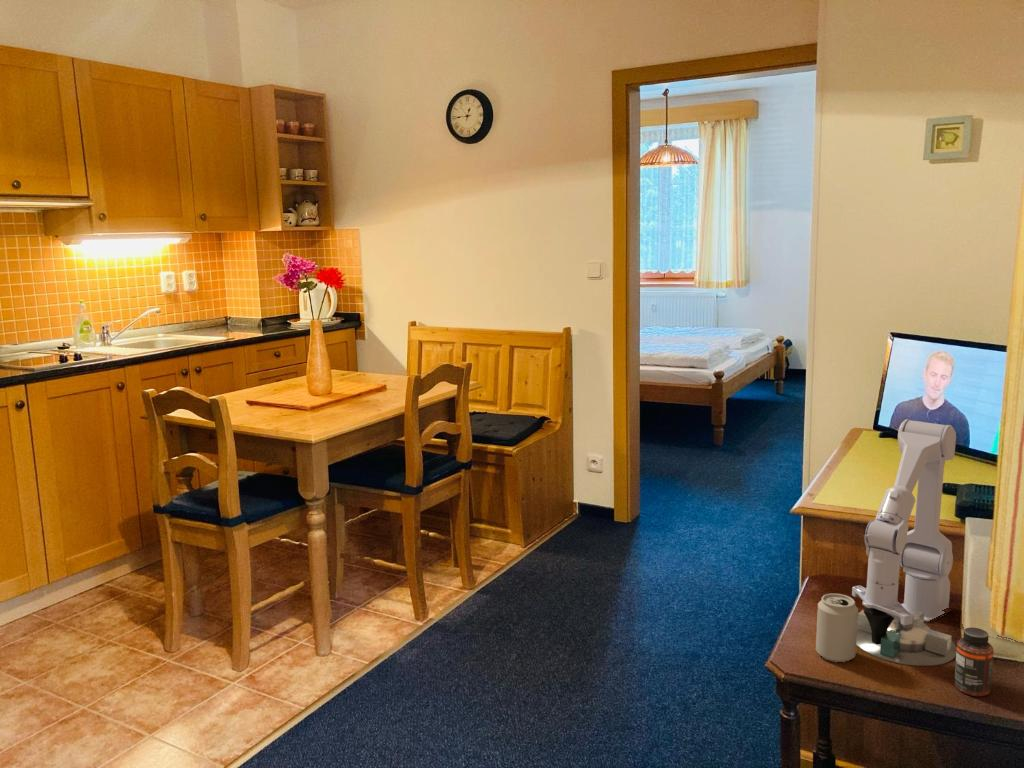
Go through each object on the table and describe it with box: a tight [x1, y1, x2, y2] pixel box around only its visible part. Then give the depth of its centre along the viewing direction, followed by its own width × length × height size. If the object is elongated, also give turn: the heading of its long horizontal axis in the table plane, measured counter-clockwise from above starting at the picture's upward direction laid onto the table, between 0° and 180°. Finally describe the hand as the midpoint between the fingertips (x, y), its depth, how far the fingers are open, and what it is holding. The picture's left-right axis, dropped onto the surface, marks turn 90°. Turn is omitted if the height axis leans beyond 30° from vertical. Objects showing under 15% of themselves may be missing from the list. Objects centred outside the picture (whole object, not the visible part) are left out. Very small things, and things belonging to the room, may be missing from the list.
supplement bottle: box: [954, 626, 995, 697], centre depth 155 cm, size 6×6×11 cm
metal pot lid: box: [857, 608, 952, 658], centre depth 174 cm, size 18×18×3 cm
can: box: [815, 593, 859, 663], centre depth 168 cm, size 8×8×12 cm
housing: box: [856, 617, 957, 667], centre depth 174 cm, size 20×20×6 cm
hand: (878, 642), depth 171 cm, fingers closed, pressing on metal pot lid
